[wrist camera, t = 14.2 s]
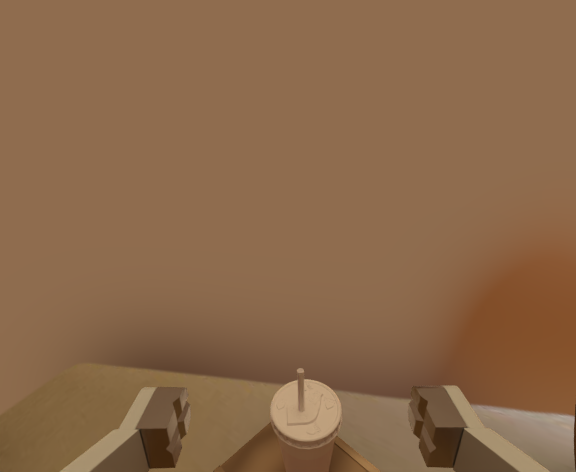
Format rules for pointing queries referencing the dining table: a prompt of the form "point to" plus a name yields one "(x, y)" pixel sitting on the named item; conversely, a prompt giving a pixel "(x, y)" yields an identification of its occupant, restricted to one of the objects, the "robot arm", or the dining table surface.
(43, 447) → the dining table surface
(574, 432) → the plant pot
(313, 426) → the smoothie
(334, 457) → the board
